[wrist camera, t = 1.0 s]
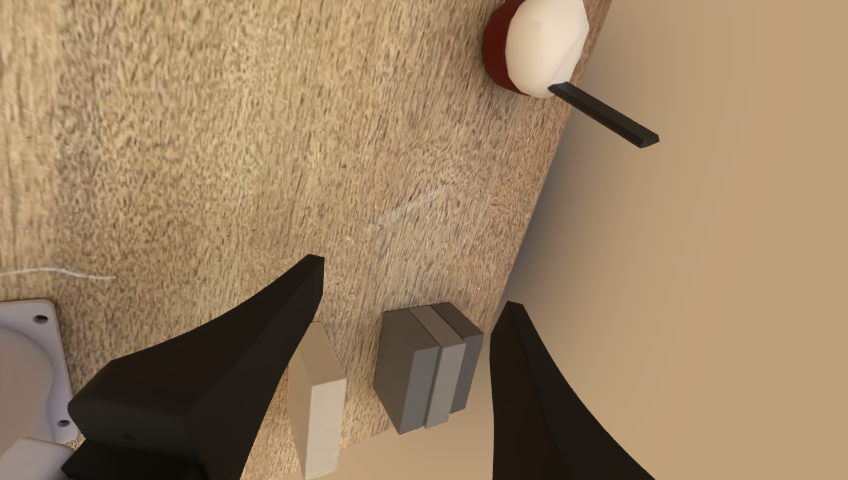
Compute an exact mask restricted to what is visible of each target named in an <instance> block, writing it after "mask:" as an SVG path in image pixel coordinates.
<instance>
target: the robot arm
mask: <svg viewBox="0 0 848 480" xmlns="http://www.w3.org/2000/svg"><path fill="white" fill-rule="evenodd" d="M324 261H325V258H324V257H320V256H316V255H312V254H308V255H306V256H305V257H304V258H303V259H301V260H300V261H299V262H298V263H297V264H295V265H294V266H293V267H292V268H290V269H289V270H288V271H287V272H285V273H284V274H283V275H282V276H280V277H279V278H278V279H276V280H275V281H274V282H272V283H271V284H270V285H268V286H267V287H265V288H264V289H263V290H261V291H260V292H258V293H257V294H255V295H254V296H252V297H251V298H249V299H248V300H246V301H245V302H243V303H241V304H240V305H238V306H236V307H235V308H233V309H231V310H230V311H228V312H226V313H224V314H223V315H221V316H219V317H217V318H215V319H213V320H211V321H209V322H207V323H205V324H203V325H201V326H199V327H197V328H195V329H193V330H191V331H189V332H186V333H184V334H182V335H179V336H177V337H175V338H172V339H170V340H167V341H165V342H162V343H160V344H157V345H155V346H152V347H149V348H147V349H144V350H141V351H138V352H135V353H132V354H129V355H126V356H123V357H120V358H117V359H114V360H111V361H110V362H109V363H108V364H107V365H105V366H104V367H103V368H102V369H101V370H100V371H99V372H98V373H97V374H96V375H95V376H94V377H93V378H92V379H91V380H90V381H89V382H88V383H87V384H86V385H85V386H84V387H83V388H82V389H81V390H80V391H79V392H78V393H77V394H76V395H75V396H74V397H73V394H72V389H71V384H70V379H69V374H68V369H67V364H66V359H65V354H64V350H63V345H62V340H61V335H60V330H59V325H58V320H57V315H56V310H55V306H54V304H53V303H52V302H51V301H49V300H46V299H34V300H22V301H10V302H0V480H240V477H241V475H242V472H243V469H244V467H245V464H246V461H247V459H248V456H249V454H250V451H251V448H252V446H253V443H254V441H255V438H256V436H257V433H258V431H259V428H260V426H261V423H262V421H263V419H264V416H265V414H266V411H267V409H268V407H269V404H270V402H271V400H272V397H273V395H274V393H275V390H276V388H277V386H278V383H279V381H280V379H281V377H282V375H283V373H284V371H285V369H286V367H287V365H288V363H289V361H290V360H291V358H292V356H293V354H294V352H295V351H296V349H297V347H298V345H299V344H300V342H301V340H302V338H303V336H304V335H305V333H306V331H307V329H308V327H309V325H310V324H311V322H312V320H313V318H314V315H315V313H316V311H317V308H318V306H319V303H320V301H321V298H322V296H323V279H324ZM38 315H44V316H46V317H47V318H48V319H46V320H40V319H38V318H37V317H36V316H38ZM490 374H491V386H492V399H493V413H494V454H493V456H494V457H493V479H492V480H655V479H654V478H653V477H652V476H651V475H650V474H649V473H648V472H647V471H646V470H644V469H643V468H642V467H641V466H640V465H639V464H638V463H637V462H636V461H635V460H634V459H633V458H632V457H631V456H630V455H629V454H628V453H627V452H626V451H625V450H624V449H623V448H622V447H621V446H620V445H619V444H618V443H617V442H616V441H615V440H614V439H613V438H612V437H611V436H610V435H609V433H608V432H607V431H606V430H605V429H604V428H603V427H602V426H601V424H600V423H599V422H598V421H597V420H596V419H595V417H594V416H593V415H592V414H591V413H590V411H589V410H588V409H587V408H586V407H585V405H584V404H583V403H582V401H581V400H580V399H579V398H578V396H577V395H576V393H575V392H574V391H573V389H572V388H571V387H570V385H569V384H568V382H567V381H566V380H565V378H564V377H563V375H562V374H561V372H560V371H559V369H558V367H557V366H556V364H555V363H554V361H553V359H552V358H551V356H550V354H549V353H548V351H547V349H546V347H545V345H544V344H543V342H542V340H541V338H540V336H539V335H538V333H537V331H536V329H535V327H534V325H533V323H532V321H531V319H530V317H529V316H528V313H527V312H526V310H525V308H524V306H523V304H519V303H515V302H510V301H507V303H506V305H505V307H504V309H503V311H502V313H501V315H500V317H499V319H498V321H497V323H496V325H495V327H494V329H493V331H492V333H491V339H490ZM62 420H68V422H61V421H62ZM79 430H80V431H81V433H82V434H83V435H84V437H85V438H86V440H85V441H84V442H83V443H82V444H81V446H80V447H79V448H78V449H77V450H74V449H73V448H71V447H69V446H66V445H63V443H67V442H70V441H73V440H74V439H76V438H77V436H78V434H79Z"/></svg>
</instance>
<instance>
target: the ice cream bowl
mask: <svg viewBox="0 0 848 480" xmlns="http://www.w3.org/2000/svg"><path fill="white" fill-rule="evenodd" d="M588 31H589V25H588V21H587V16H586V12H585V9H584V5H583V1H582V0H505V3H504V4H502V5H501V6H500V7H499V8H498V9H497V10H496V11H495V12H494V13H493V14H492V16H491V18H490V21H489V23H488V25H487V27H486V29H485V31H484V34H483V42H482V50H481V51H482V56H483V61H484V66H485V69H486V71H487V72H488V74H489V75H490V76H491V78H492V79H493V81H494V82H495V83H497V84H498V85H500V86H502V87H504V88H506V89H508V90H511V91H513V92H516V93H519V94H522V95H527V96H533V97H537V98H548V97H551V96H553V95H556V96H558V97H560V98H561V99H563V100H564V101H566V102H567V103H569V104H571V105H572V106H574V107H575V108H577V109H579V110H580V111H582V112H583V113H585V114H587V115H588V116H590V117H591V118H593V119H594V120H596V121H598V122H599V123H601V124H602V125H604V126H606V127H607V128H609V129H610V130H612V131H613V132H615V133H617V134H619V135H620V136H621V137H623V138H625V139H626V140H628V141H629V142H631V143H632V144H634V145H636V146H637V147H639V148H644V147H647V146H650V145H652V144H655V143H657V142H659V137H658V135H657V134H655V133H654V132H652V131H650V130H648V129H647V128H645V127H643V126H642V125H640V124H638V123H637V122H634V121H633V120H631V119H630V118H628V117H626V116H625V115H623V114H621V113H619V112H618V111H616V110H615V109H613V108H611V107H609V106H608V105H606V104H604V103H602V102H601V101H599V100H597V99H596V98H594V97H592V96H591V95H589V94H587V93H586V92H584V91H582V90H581V89H579V88H577V87H575V86H574V85H572V84H570V83H569V80H570V78H571V76H572V73H573V70H574V67H575V65H576V63H577V61H578V59H579V57H580V54H581V51H582V48H583V45H584V42H585V39H586V36H587V34H588Z"/></svg>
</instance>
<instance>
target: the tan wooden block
mask: <svg viewBox="0 0 848 480" xmlns="http://www.w3.org/2000/svg"><path fill="white" fill-rule="evenodd" d="M346 386H347V377H346V374H345V372H344V370H343V368H342V366H341V364H340V362H339V360H338V358H337V356H336V354H335V351H334V349H333V347H332V345H331V343H330V341H329V339H328V337H327V335H326V333H325V330H324V328H323V326H322V324H321V322H313V323H311V324H310V325H309V327H308V329H307V331H306V333H305V335H304V336H303V338H302V340H301V342H300V344H299V345H298V347H297V349H296V351H295V352H294V354H293V356H292V358H291V360H290V361H289V365H288V385H287V406H286V411H287V415H288V419H289V423H290V427H291V431H292V435H293V439H294V443H295V447H296V451H297V455H298V459H299V463H300V467H301V471H302V475H303V479H304V480H312V479H315V478H318V477H320V476H323V475H326V474H328V473H331V472H334V471H336V470H337V462H338V454H339V446H340V437H341V429H342V420H343V411H344V403H345V394H346Z"/></svg>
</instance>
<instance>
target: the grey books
mask: <svg viewBox="0 0 848 480" xmlns="http://www.w3.org/2000/svg"><path fill="white" fill-rule="evenodd" d="M483 337H484V333H483V332H482V331H481V330H480V329H479V328H478V327H476V326H475V325H474V324H473V323H472V322H471V321H470V320H469V319H468V318H467V317H466V316H464V315H463V314H462V313H461V312H460V311H459V310H458V309H457V308H456V307H455V306H454V305H453V304H451V303H450V302H448V303H442V304H435V305H431V306H429V305H428V306H421V307H414V308H408V309H400V310H394V311H387V312H384V316H383V323H382V330H381V337H380V344H379V350H378V357H377V364H376V371H375V378H374V384H373V388H374V390H375V392H376V394H377V395H378V397H379V399H380V401H381V403H382V405H383V406H384V408H385V410H386V412H387V414H388V416H389V417H390V419H391V421H392V423H393V425H394V427H395V428H396V430H397V432H398V434H399V435H401V434H403V433H406V432H409V431H412V430H415V429H418V428H420V427H422V426H423V425H424V427H425V429H427V428H430V427H433V426H436V425H438V424H441V423H444V422H447V421H448V417H449V414H451V413H454V412H456V411H459V410H462V409H464V408H465V406H466V402H467V398H468V395H469V391H470V387H471V383H472V379H473V376H474V372H475V368H476V364H477V360H478V356H479V352H480V349H481V345H482V341H483Z"/></svg>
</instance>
